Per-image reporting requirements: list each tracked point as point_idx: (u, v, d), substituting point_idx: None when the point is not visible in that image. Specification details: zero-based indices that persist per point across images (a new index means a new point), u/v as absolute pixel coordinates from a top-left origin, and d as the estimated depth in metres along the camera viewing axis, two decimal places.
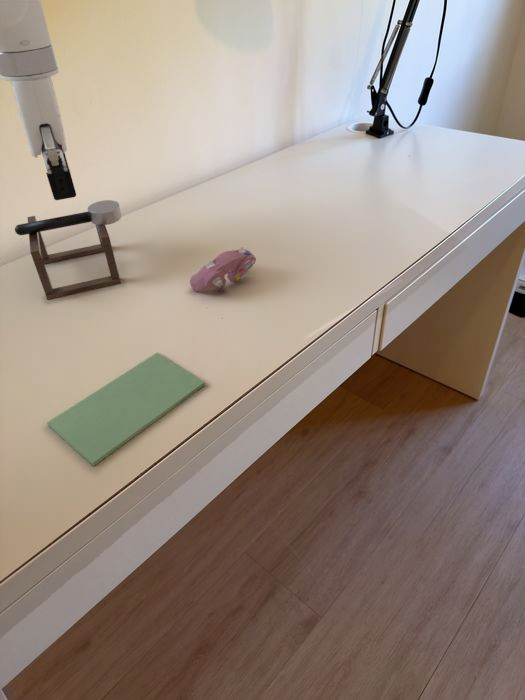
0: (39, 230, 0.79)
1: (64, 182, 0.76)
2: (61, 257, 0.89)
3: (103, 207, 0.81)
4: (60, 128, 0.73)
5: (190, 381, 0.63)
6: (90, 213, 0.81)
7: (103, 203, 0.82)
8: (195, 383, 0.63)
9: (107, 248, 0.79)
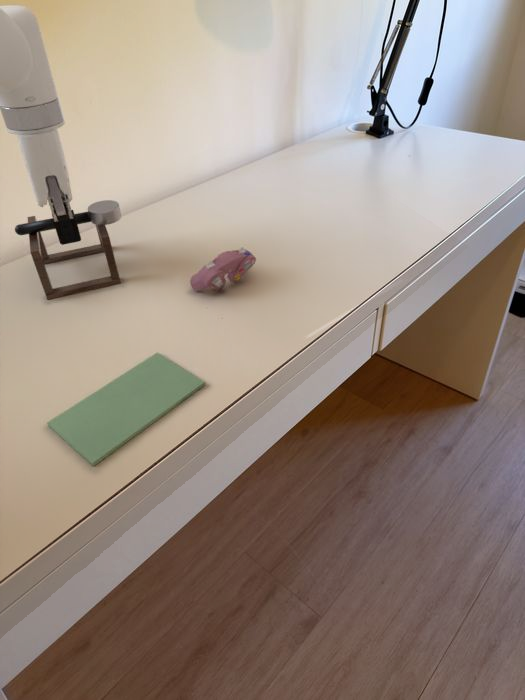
0: (39, 230, 0.79)
1: (70, 228, 0.80)
2: (61, 257, 0.89)
3: (103, 207, 0.81)
4: (66, 179, 0.73)
5: (190, 381, 0.63)
6: (90, 213, 0.81)
7: (103, 203, 0.82)
8: (195, 383, 0.63)
9: (107, 248, 0.79)
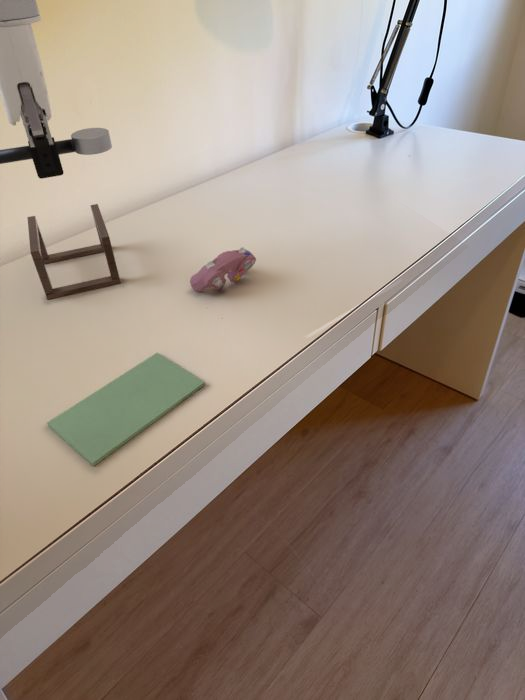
0: (13, 159, 0.66)
1: (49, 157, 0.66)
2: (61, 257, 0.89)
3: (90, 134, 0.68)
4: (43, 89, 0.60)
5: (190, 381, 0.63)
6: (74, 140, 0.67)
7: (90, 130, 0.69)
8: (195, 383, 0.63)
9: (107, 248, 0.79)
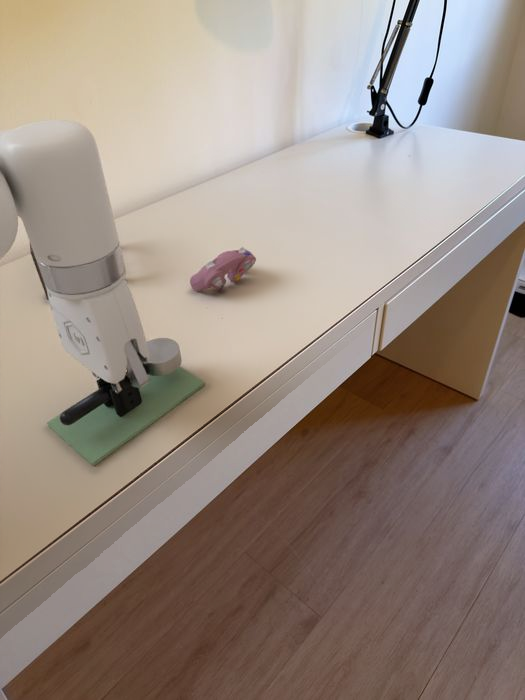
0: (93, 408, 0.57)
1: (133, 394, 0.58)
2: None
3: (161, 351, 0.61)
4: None
5: (190, 381, 0.63)
6: (150, 364, 0.60)
7: (153, 345, 0.62)
8: (195, 383, 0.63)
9: None
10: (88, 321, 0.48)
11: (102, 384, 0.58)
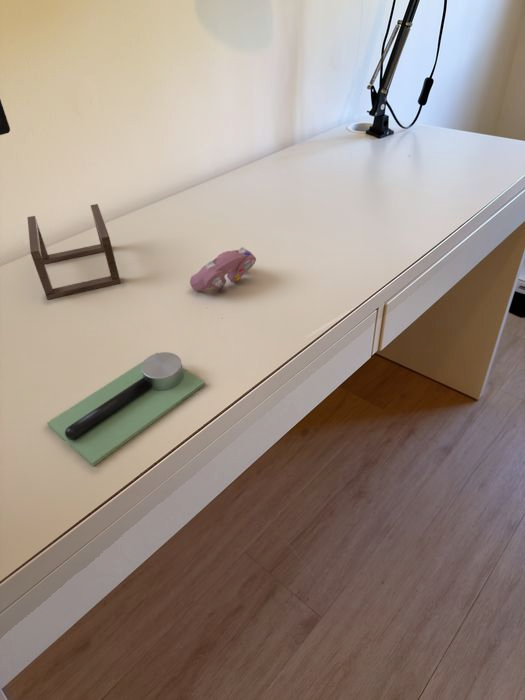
0: (98, 423, 0.58)
1: None
2: (61, 257, 0.89)
3: (164, 366, 0.63)
4: None
5: (190, 381, 0.63)
6: (152, 379, 0.61)
7: (156, 360, 0.64)
8: (195, 383, 0.63)
9: (107, 248, 0.79)
10: None
11: None
